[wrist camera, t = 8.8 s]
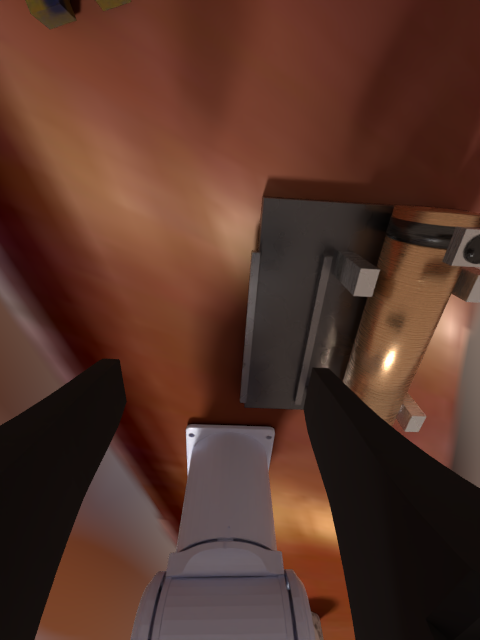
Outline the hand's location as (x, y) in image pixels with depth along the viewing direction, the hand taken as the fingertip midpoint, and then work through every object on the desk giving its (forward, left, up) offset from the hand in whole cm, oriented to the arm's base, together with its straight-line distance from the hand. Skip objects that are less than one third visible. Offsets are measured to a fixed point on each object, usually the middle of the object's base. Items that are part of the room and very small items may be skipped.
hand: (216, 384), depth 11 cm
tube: (-1, -10, -9) cm, 14 cm away
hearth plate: (-2, -8, -10) cm, 13 cm away
